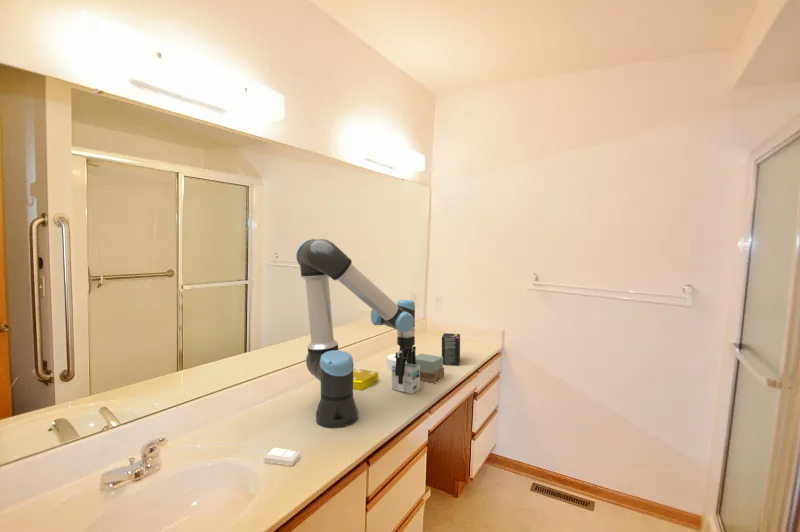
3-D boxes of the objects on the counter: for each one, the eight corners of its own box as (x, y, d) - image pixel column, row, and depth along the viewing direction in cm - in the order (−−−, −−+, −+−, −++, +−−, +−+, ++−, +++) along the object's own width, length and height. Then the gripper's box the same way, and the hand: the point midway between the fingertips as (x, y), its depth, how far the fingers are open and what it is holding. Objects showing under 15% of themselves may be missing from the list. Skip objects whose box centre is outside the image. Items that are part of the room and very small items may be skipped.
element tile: (333, 386, 180) (333, 375, 180) (353, 376, 194) (353, 366, 193) (362, 392, 173) (362, 381, 173) (380, 381, 187) (380, 371, 186)
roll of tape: (395, 361, 218) (395, 351, 218) (422, 365, 211) (422, 354, 211) (381, 369, 204) (381, 358, 203) (409, 374, 197) (409, 362, 197)
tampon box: (459, 366, 209) (459, 338, 208) (441, 365, 211) (441, 337, 210) (460, 360, 220) (460, 333, 219) (443, 359, 222) (443, 332, 221)
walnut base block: (434, 385, 182) (434, 374, 182) (408, 380, 188) (408, 369, 188) (444, 378, 192) (444, 367, 191) (419, 373, 198) (419, 363, 198)
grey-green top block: (433, 373, 183) (433, 362, 183) (410, 368, 189) (410, 358, 189) (443, 367, 192) (443, 357, 191) (420, 363, 198) (420, 353, 198)
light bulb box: (420, 389, 175) (420, 365, 175) (412, 394, 170) (412, 369, 169) (399, 384, 181) (399, 361, 180) (391, 389, 175) (391, 364, 175)
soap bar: (272, 454, 122) (272, 446, 122) (300, 458, 120) (300, 449, 120) (263, 463, 117) (263, 454, 117) (292, 467, 115) (292, 458, 115)
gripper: (402, 341, 164) (401, 397, 165) (424, 332, 181) (423, 383, 182) (386, 339, 167) (386, 393, 169) (409, 330, 184) (409, 380, 186)
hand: (405, 388), depth 175 cm, fingers closed on light bulb box, 7 cm apart
